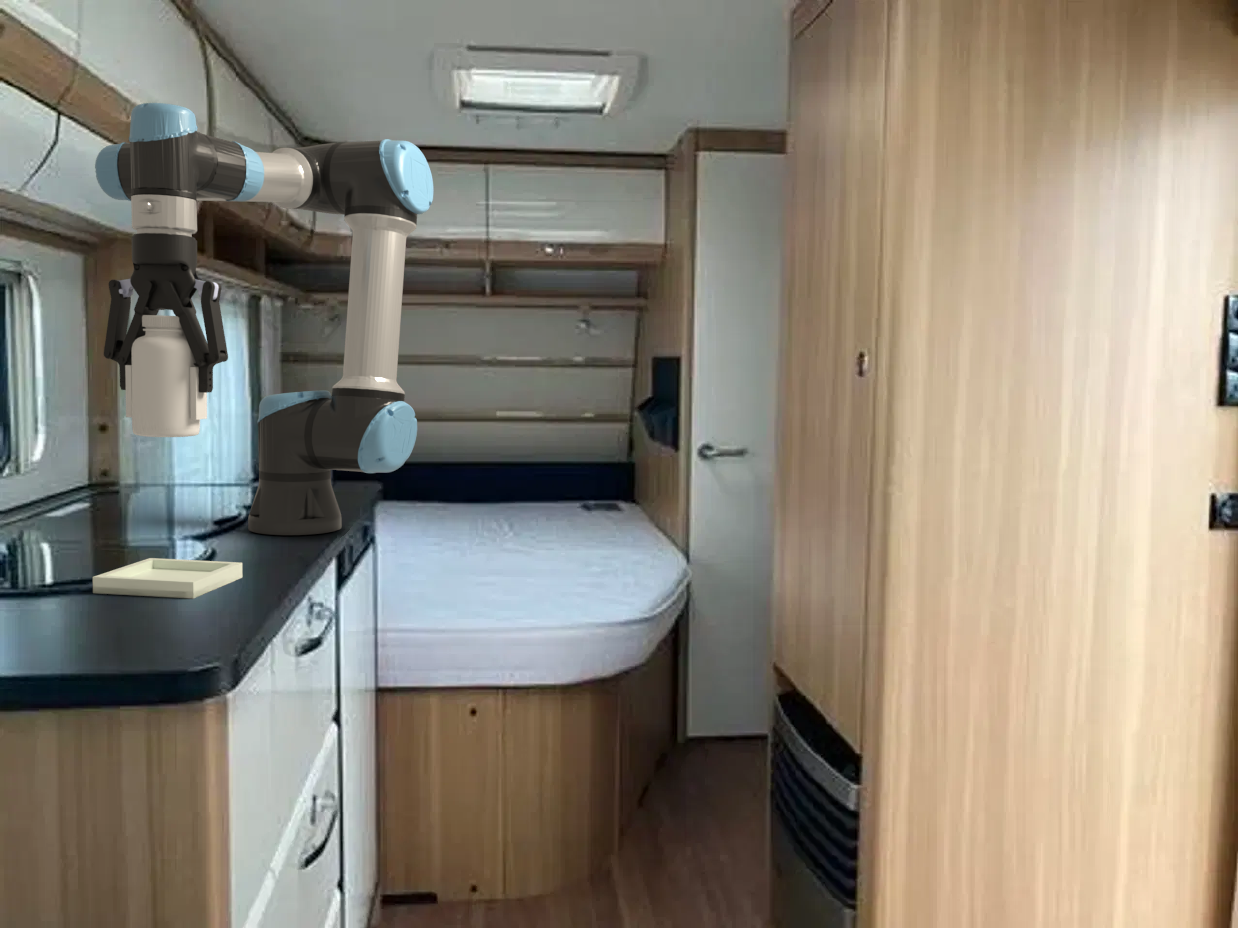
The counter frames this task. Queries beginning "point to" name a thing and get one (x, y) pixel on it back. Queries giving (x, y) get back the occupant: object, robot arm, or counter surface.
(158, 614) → the counter surface
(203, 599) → the counter surface
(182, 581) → the tray
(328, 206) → the robot arm
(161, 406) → the pill bottle
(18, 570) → the counter surface
